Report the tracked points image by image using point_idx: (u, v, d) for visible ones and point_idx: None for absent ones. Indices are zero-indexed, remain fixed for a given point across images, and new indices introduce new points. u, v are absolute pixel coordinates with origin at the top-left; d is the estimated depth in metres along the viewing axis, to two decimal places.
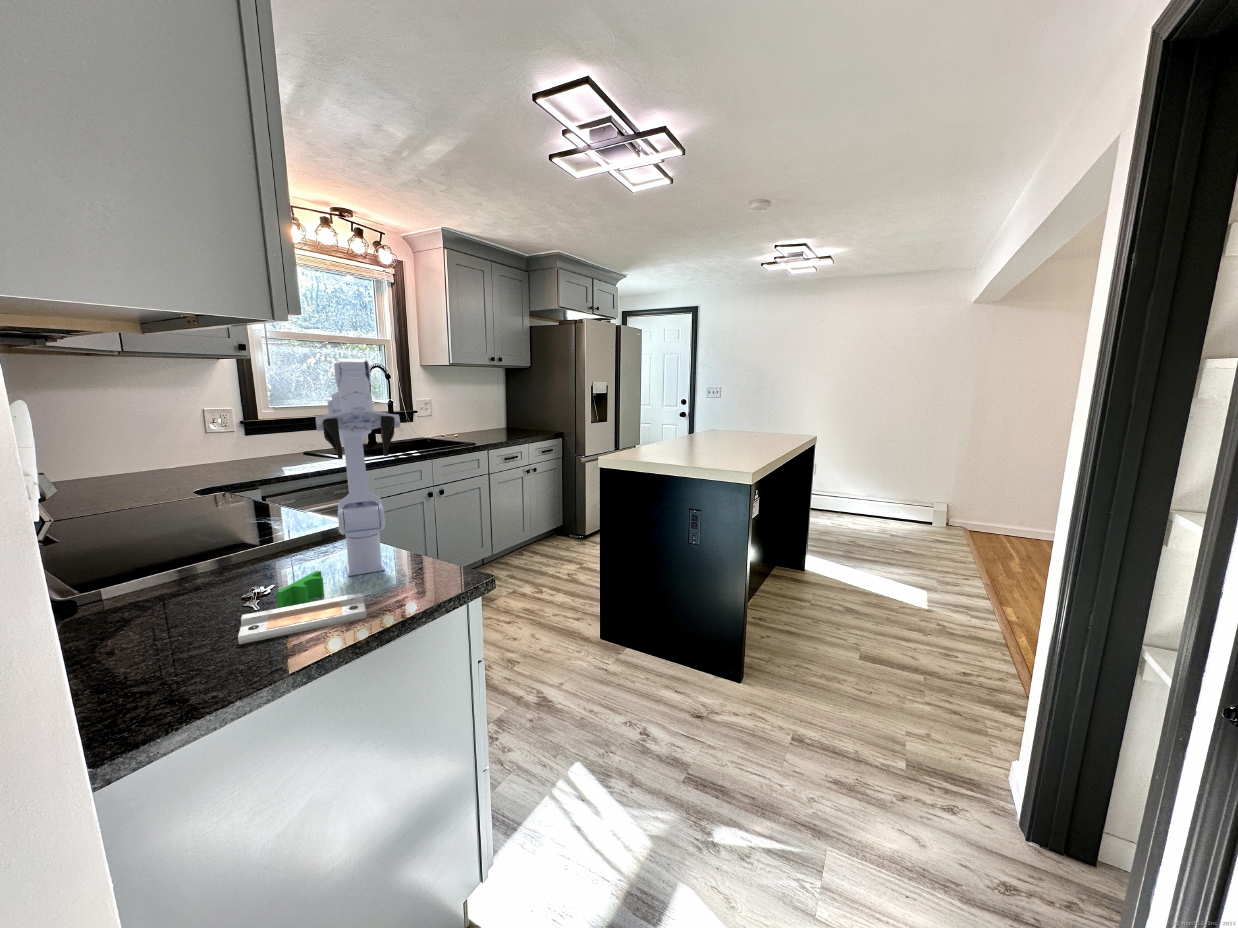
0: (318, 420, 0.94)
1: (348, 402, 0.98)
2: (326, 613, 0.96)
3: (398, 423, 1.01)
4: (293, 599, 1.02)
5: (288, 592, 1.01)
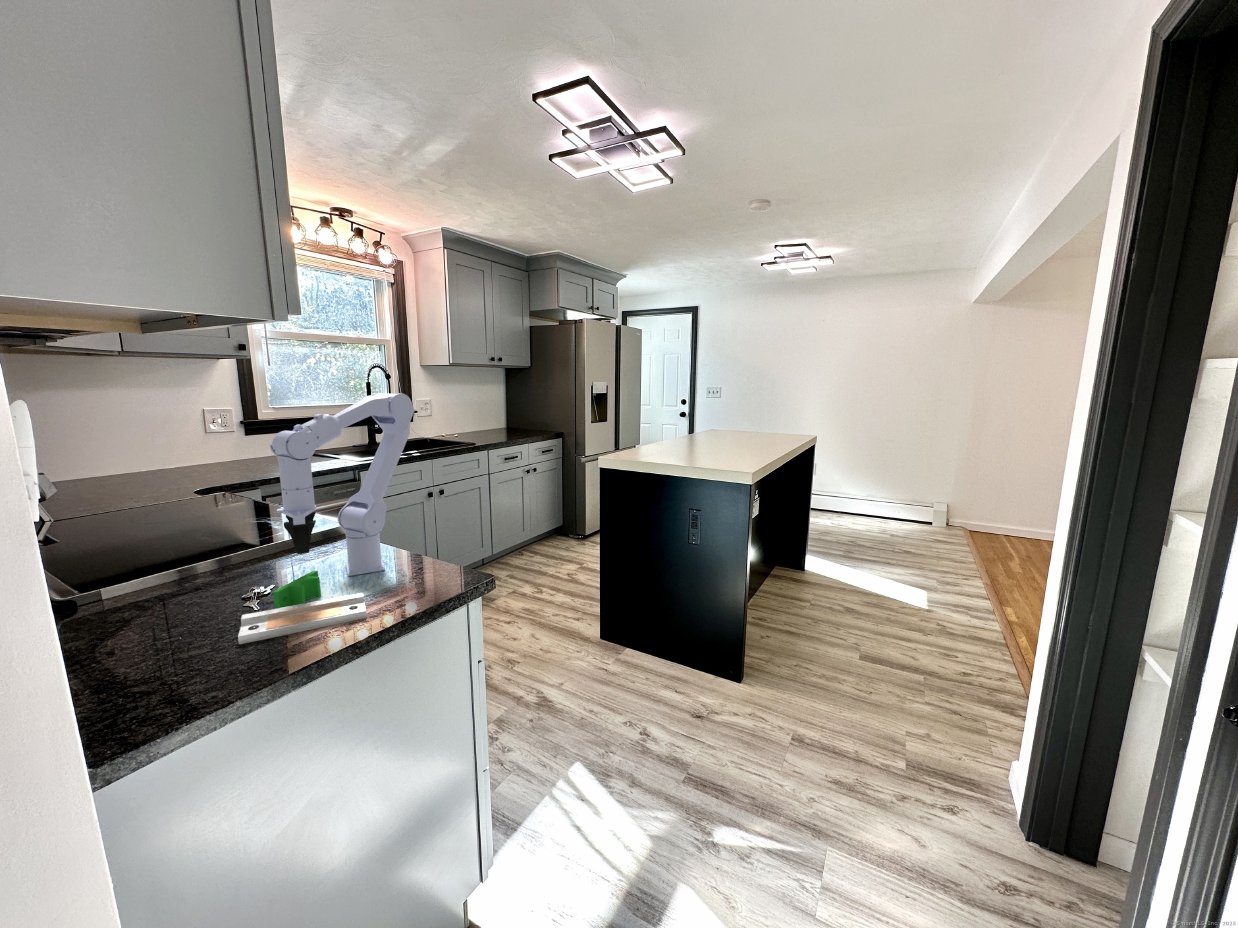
0: None
1: None
2: (326, 613, 0.96)
3: None
4: (290, 599, 1.02)
5: (284, 592, 1.01)
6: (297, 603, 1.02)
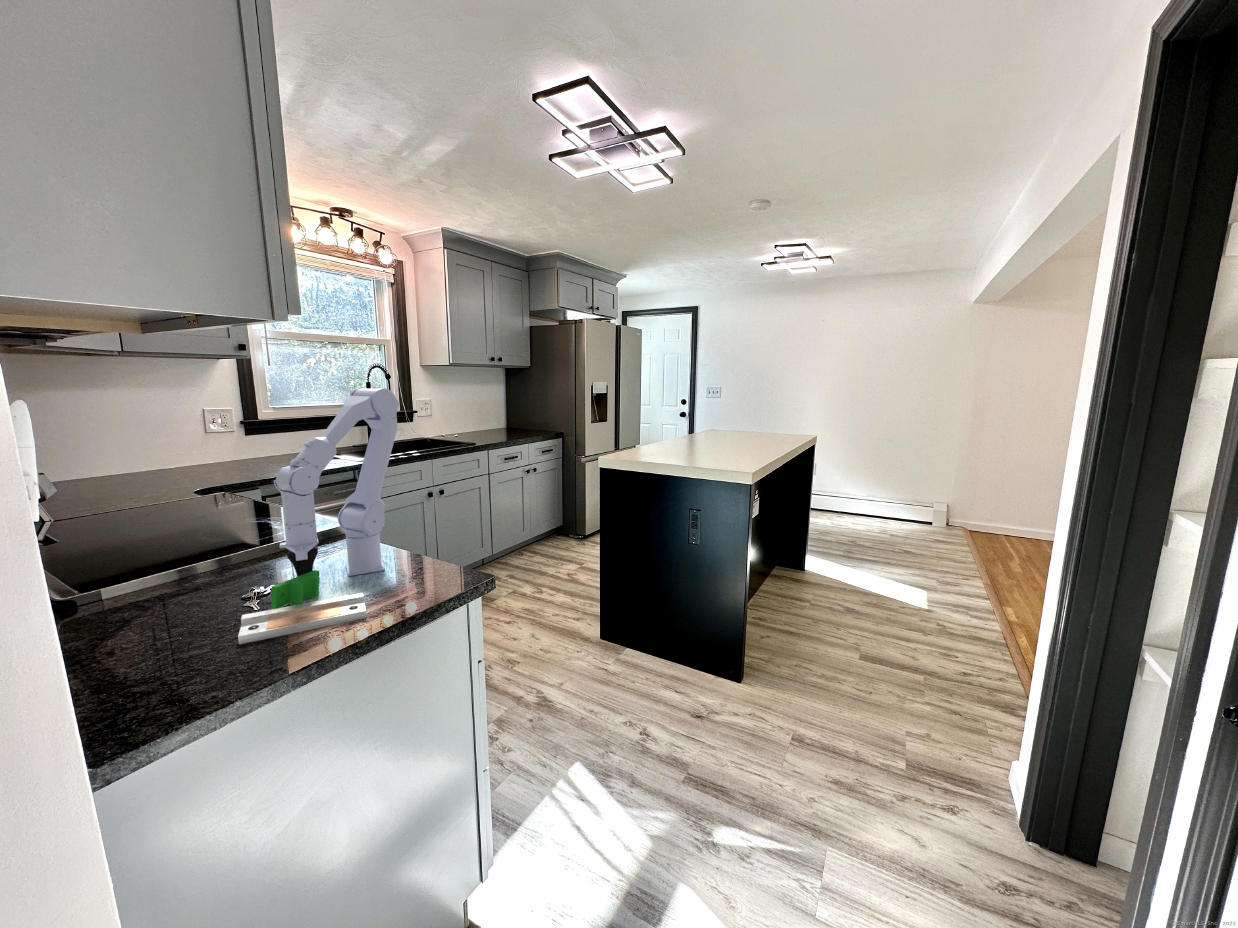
0: None
1: None
2: (326, 613, 0.96)
3: None
4: (287, 596, 1.02)
5: (283, 588, 1.01)
6: (294, 601, 1.02)
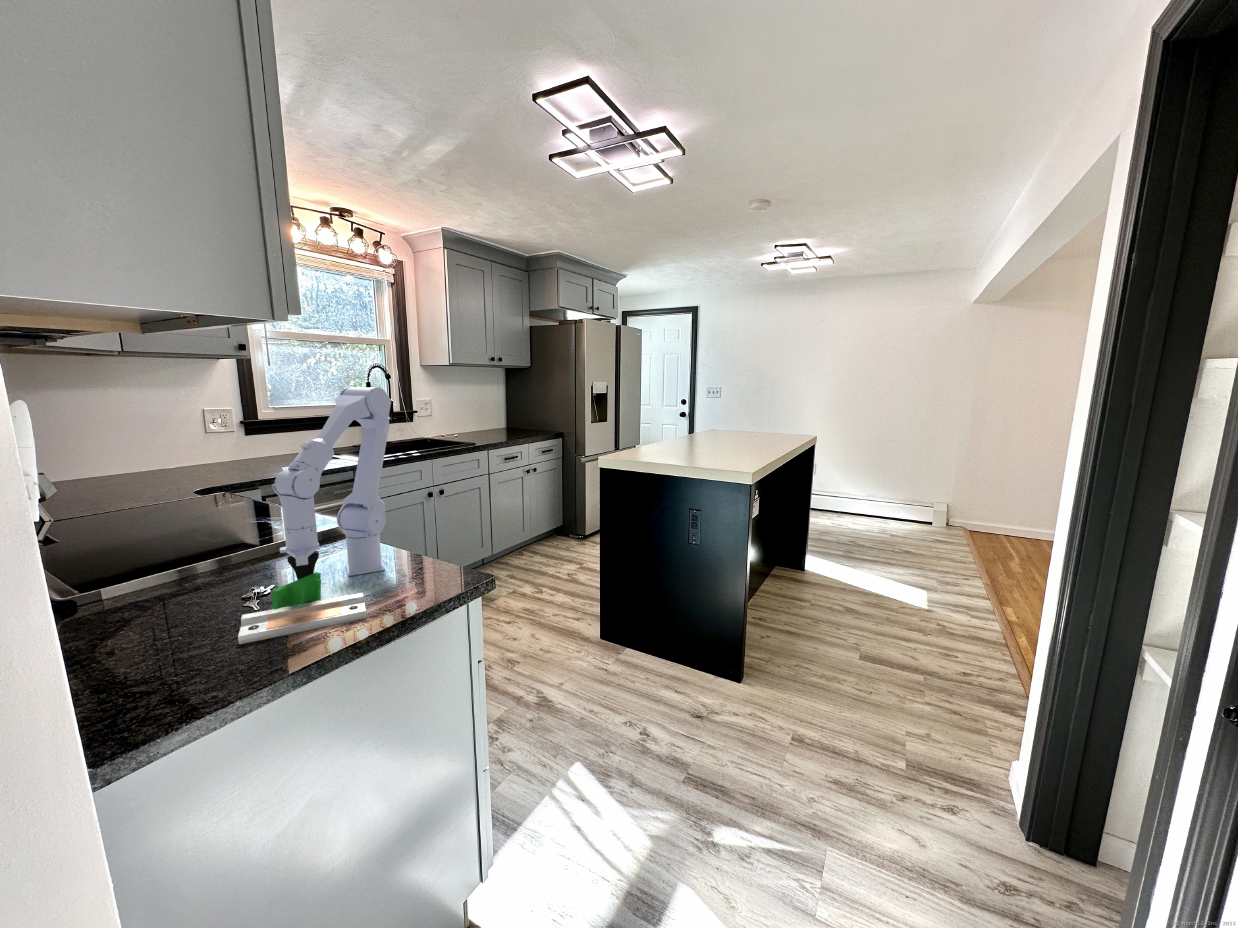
0: None
1: None
2: (326, 613, 0.96)
3: None
4: (288, 599, 1.00)
5: (284, 592, 0.99)
6: (295, 604, 1.01)
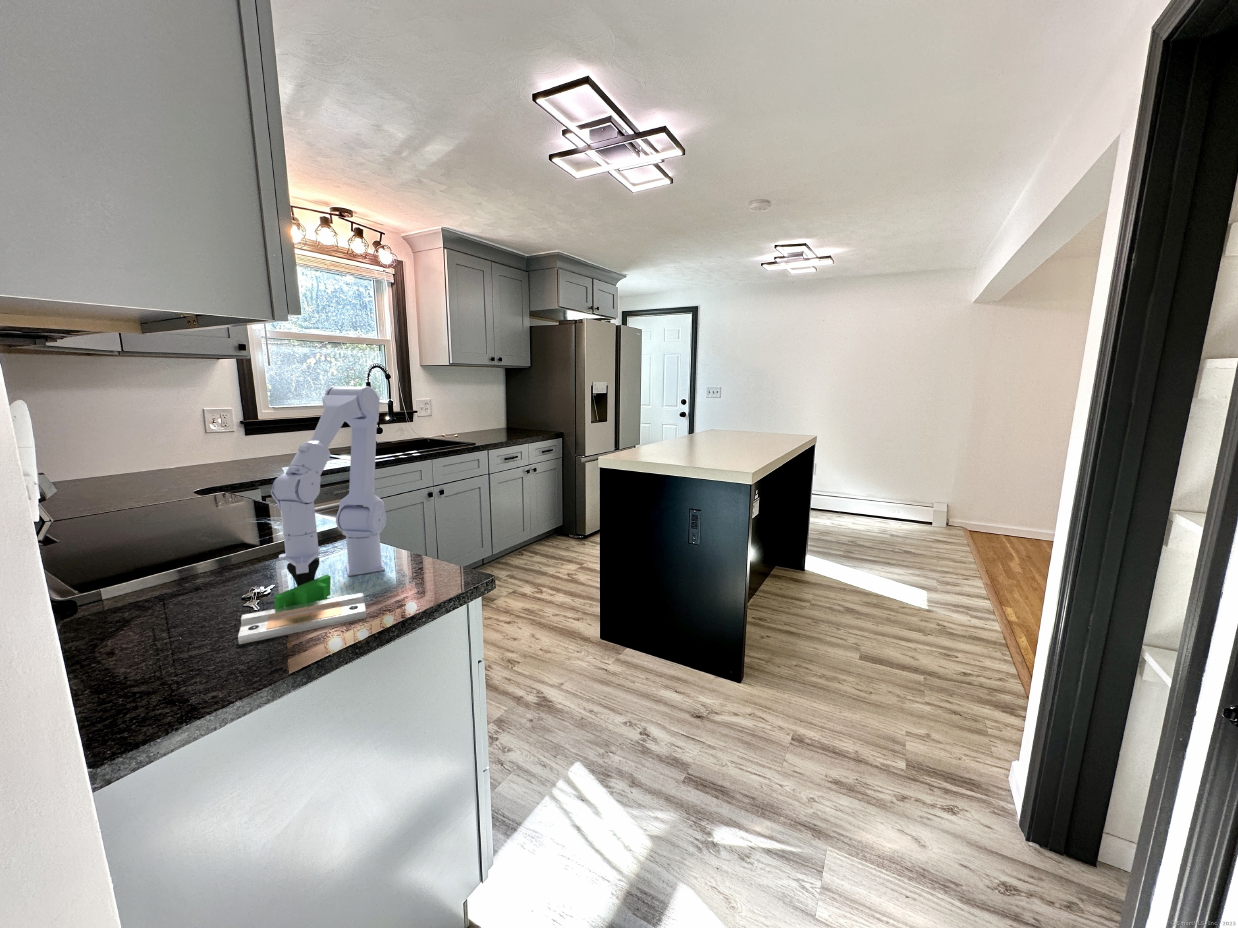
0: None
1: None
2: (326, 613, 0.96)
3: None
4: (292, 604, 0.99)
5: (287, 597, 0.97)
6: None
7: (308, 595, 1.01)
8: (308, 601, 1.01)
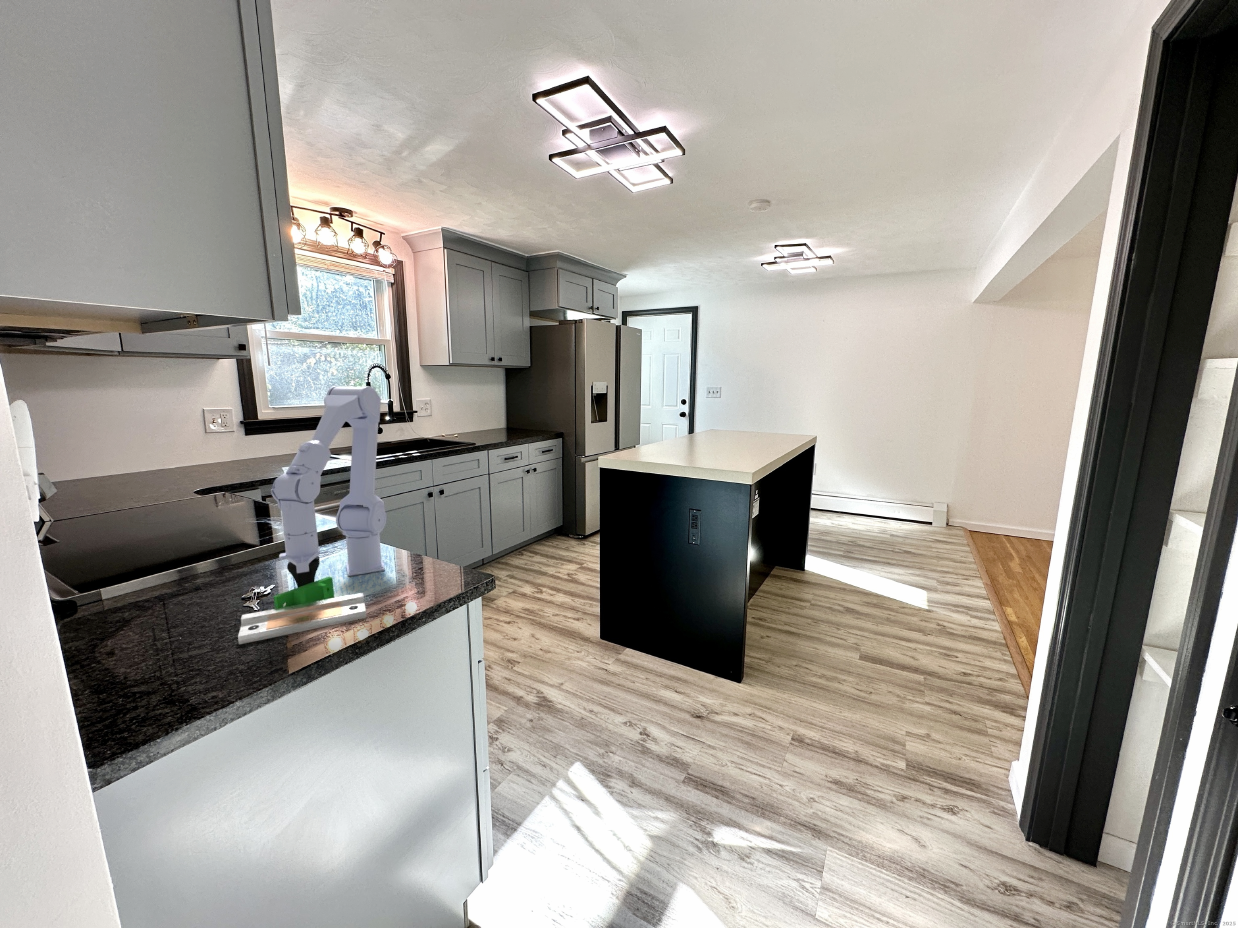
0: None
1: None
2: (326, 613, 0.96)
3: None
4: (293, 605, 0.99)
5: (286, 598, 0.98)
6: None
7: (309, 596, 1.01)
8: (309, 602, 1.01)
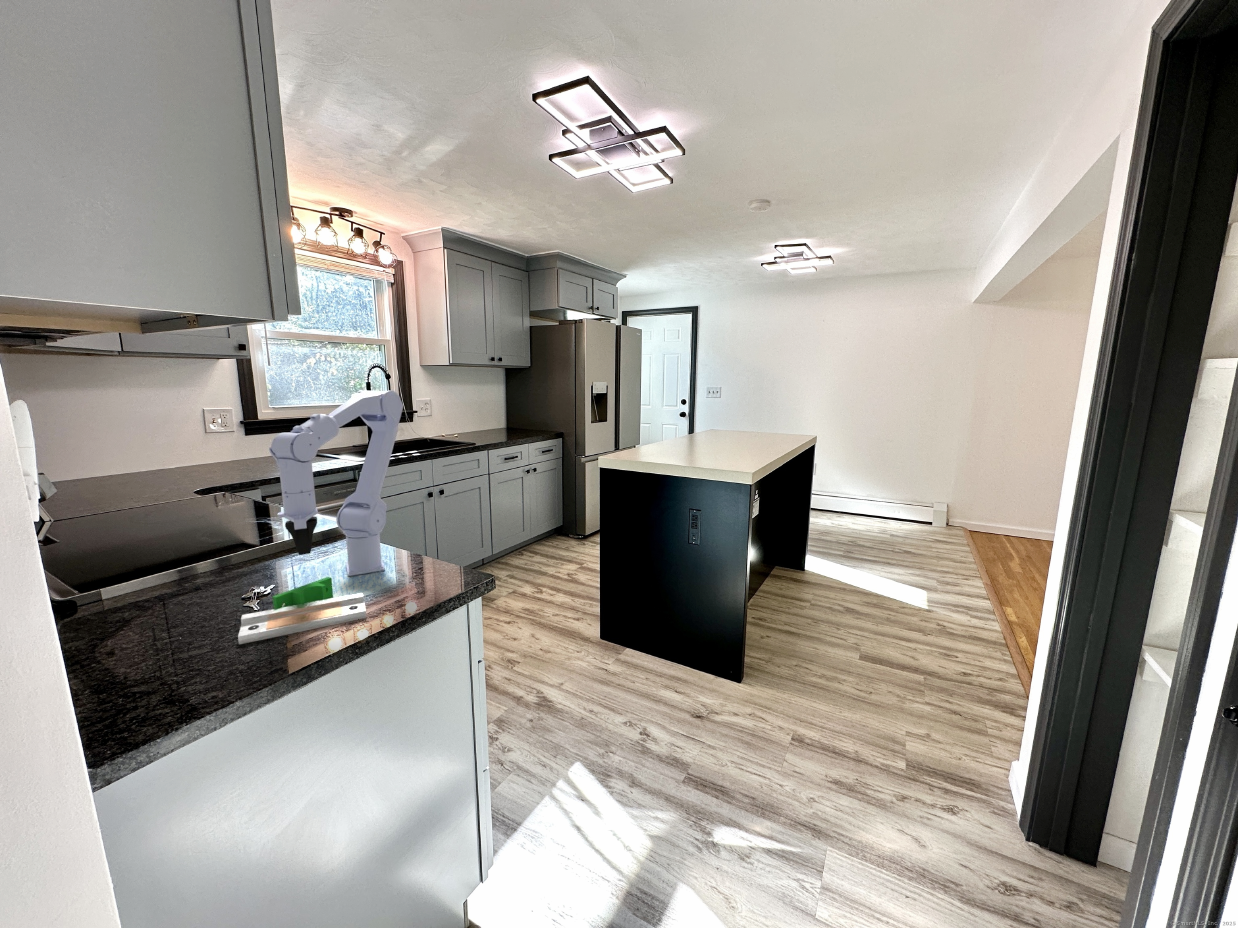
0: None
1: None
2: (326, 613, 0.96)
3: None
4: (292, 605, 0.99)
5: (285, 598, 0.98)
6: None
7: (307, 596, 1.01)
8: (308, 602, 1.02)
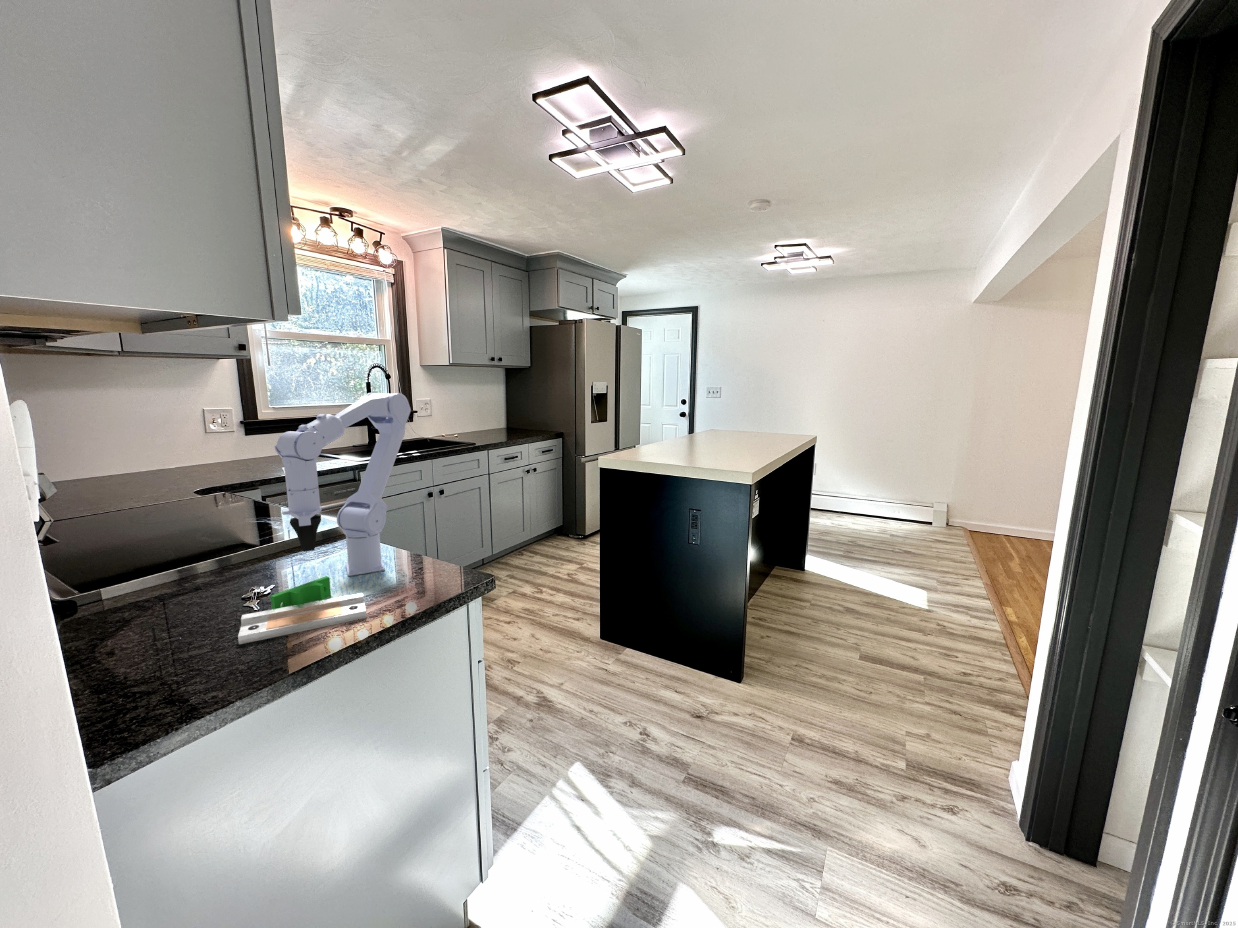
0: None
1: None
2: (326, 613, 0.96)
3: None
4: (290, 604, 1.00)
5: (283, 597, 0.98)
6: None
7: (305, 595, 1.02)
8: (306, 601, 1.02)
